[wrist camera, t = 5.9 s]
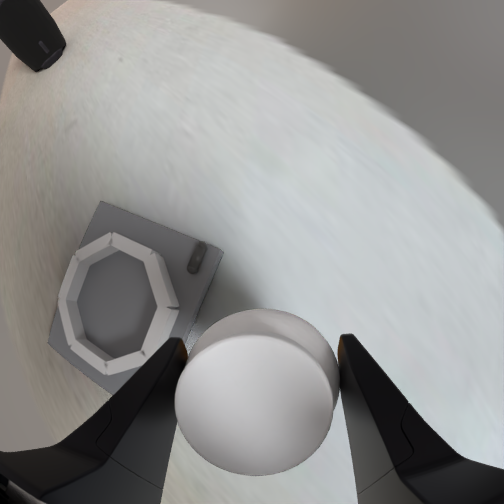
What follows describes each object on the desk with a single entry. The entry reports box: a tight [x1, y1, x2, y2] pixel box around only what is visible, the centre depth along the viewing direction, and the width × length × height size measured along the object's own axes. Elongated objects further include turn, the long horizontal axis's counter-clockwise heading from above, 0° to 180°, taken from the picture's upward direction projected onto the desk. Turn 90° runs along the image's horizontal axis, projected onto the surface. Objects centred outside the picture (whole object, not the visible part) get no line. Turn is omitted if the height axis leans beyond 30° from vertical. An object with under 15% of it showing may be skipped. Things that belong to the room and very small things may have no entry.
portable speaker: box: [0, 0, 66, 72], centre depth 24 cm, size 9×9×20 cm
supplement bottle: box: [175, 309, 340, 476], centre depth 11 cm, size 5×5×10 cm
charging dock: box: [48, 201, 224, 395], centre depth 20 cm, size 14×12×2 cm
